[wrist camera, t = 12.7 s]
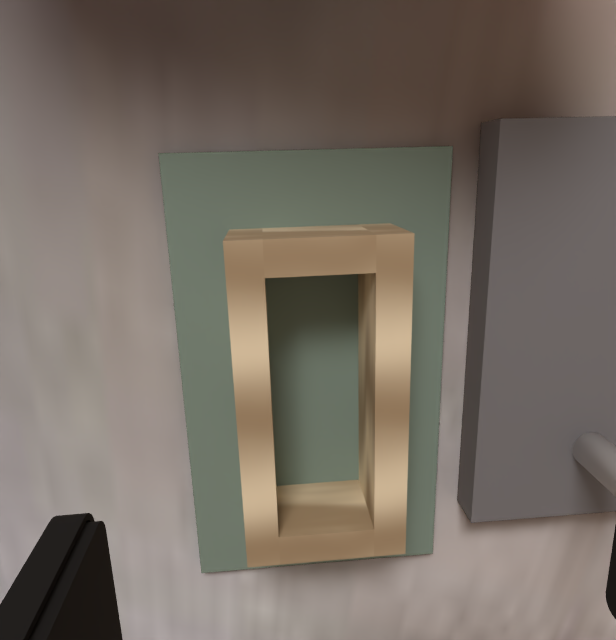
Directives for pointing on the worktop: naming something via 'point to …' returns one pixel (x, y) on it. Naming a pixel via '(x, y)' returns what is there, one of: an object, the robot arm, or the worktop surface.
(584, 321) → the post stand
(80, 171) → the worktop surface
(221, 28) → the worktop surface
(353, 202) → the rubber mat
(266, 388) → the beech link
